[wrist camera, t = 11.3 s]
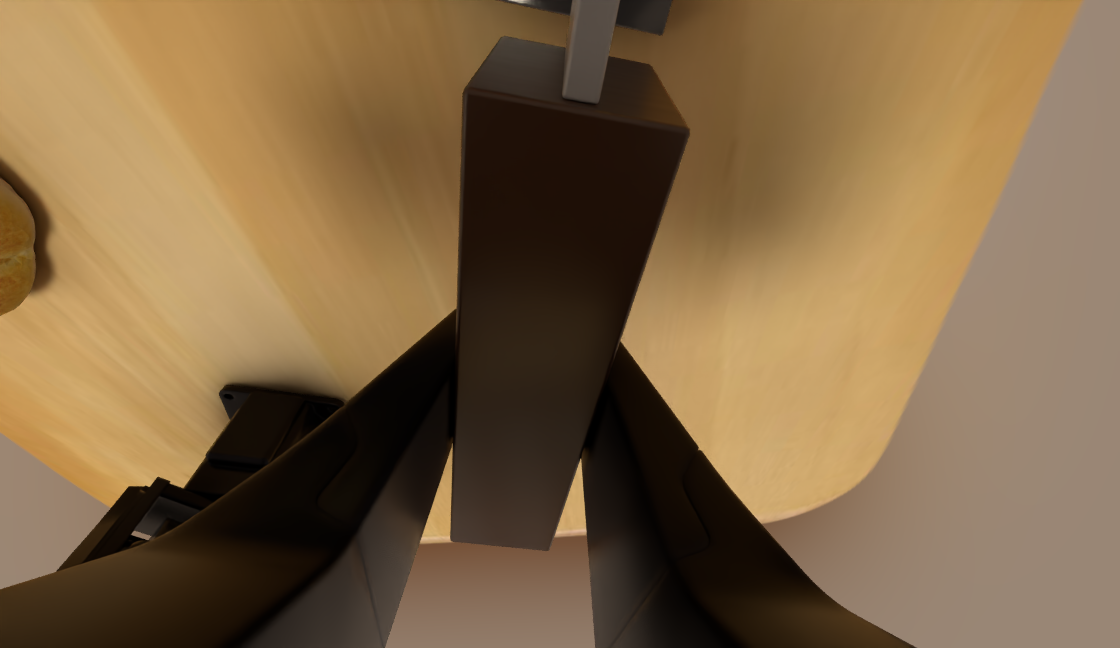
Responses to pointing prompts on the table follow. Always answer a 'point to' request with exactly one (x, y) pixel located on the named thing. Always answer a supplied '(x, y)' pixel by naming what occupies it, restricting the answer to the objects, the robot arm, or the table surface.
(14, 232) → the bread roll
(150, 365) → the table surface
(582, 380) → the knife
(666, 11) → the butter board
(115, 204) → the table surface
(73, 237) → the table surface
